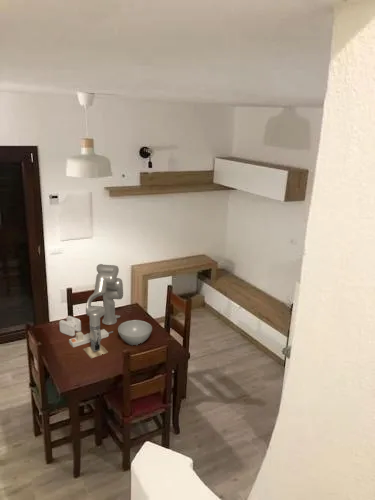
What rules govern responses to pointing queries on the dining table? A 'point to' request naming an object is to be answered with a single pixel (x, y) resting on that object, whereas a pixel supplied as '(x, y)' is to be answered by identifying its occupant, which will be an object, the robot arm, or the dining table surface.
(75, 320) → the cable organizer
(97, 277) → the robot arm
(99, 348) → the charger
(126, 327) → the decorative bowl
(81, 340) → the power strip
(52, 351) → the dining table surface
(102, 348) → the beige square cloth
